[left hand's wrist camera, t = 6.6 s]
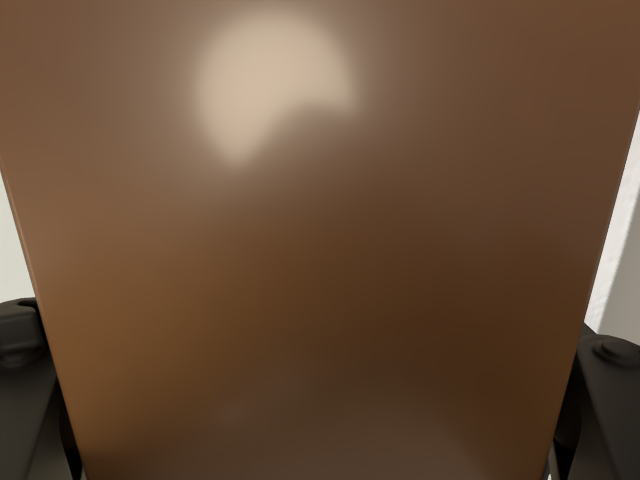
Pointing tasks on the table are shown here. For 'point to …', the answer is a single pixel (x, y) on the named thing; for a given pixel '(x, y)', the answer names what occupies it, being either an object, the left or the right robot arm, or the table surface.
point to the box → (315, 225)
